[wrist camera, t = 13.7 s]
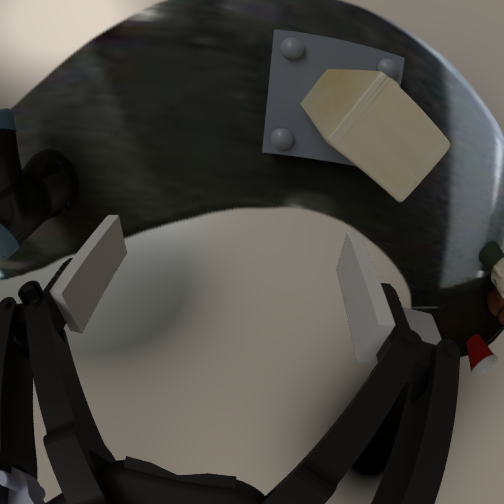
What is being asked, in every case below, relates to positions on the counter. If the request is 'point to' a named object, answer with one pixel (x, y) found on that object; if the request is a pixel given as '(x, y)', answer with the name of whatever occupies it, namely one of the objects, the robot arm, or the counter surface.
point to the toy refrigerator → (376, 127)
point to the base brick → (302, 81)
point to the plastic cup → (479, 356)
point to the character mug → (494, 264)
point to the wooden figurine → (496, 304)
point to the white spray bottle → (423, 325)
